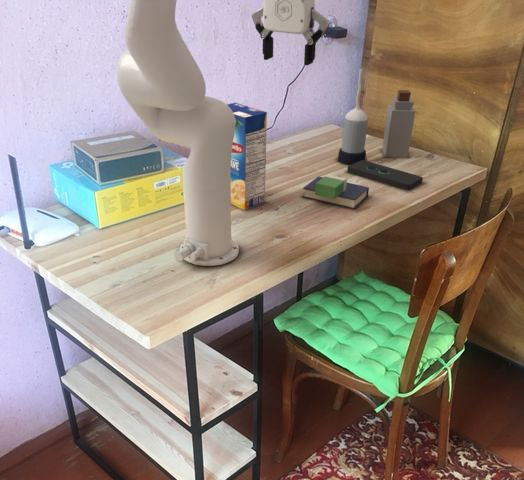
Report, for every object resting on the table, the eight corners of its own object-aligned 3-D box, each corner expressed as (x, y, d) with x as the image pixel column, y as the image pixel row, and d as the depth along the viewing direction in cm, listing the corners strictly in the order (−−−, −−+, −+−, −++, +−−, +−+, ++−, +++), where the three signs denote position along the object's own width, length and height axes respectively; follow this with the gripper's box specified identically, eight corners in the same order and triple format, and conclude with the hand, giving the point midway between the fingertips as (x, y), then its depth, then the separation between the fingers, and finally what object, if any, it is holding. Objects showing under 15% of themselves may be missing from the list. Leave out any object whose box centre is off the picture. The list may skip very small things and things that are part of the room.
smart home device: (362, 158, 170) (424, 176, 160) (362, 164, 172) (422, 182, 161) (346, 166, 165) (408, 184, 155) (345, 172, 166) (407, 191, 156)
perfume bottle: (407, 157, 177) (418, 94, 167) (385, 157, 177) (394, 94, 167) (403, 150, 183) (413, 88, 172) (382, 149, 183) (390, 88, 172)
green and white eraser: (334, 199, 144) (335, 187, 142) (314, 194, 146) (315, 183, 144) (345, 189, 149) (347, 178, 147) (326, 185, 151) (327, 174, 149)
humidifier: (346, 154, 179) (355, 64, 164) (370, 159, 175) (382, 69, 160) (332, 161, 174) (341, 69, 159) (357, 167, 170) (368, 74, 155)
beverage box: (245, 210, 144) (245, 117, 131) (215, 197, 150) (213, 107, 137) (264, 202, 148) (267, 112, 135) (235, 190, 154) (235, 102, 141)
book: (354, 209, 146) (355, 199, 144) (302, 197, 151) (303, 187, 150) (367, 196, 152) (369, 187, 151) (317, 185, 158) (318, 176, 156)
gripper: (243, -35, 116) (244, 60, 126) (323, -29, 109) (317, 70, 120) (261, -38, 121) (261, 53, 131) (339, -33, 114) (332, 62, 125)
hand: (288, 61), depth 126 cm, fingers open, 9 cm apart
